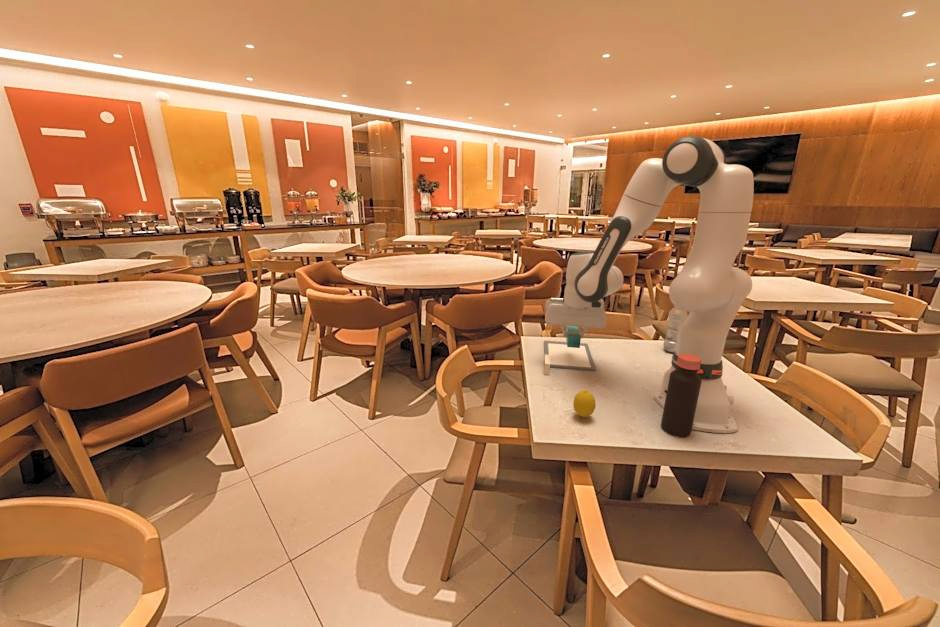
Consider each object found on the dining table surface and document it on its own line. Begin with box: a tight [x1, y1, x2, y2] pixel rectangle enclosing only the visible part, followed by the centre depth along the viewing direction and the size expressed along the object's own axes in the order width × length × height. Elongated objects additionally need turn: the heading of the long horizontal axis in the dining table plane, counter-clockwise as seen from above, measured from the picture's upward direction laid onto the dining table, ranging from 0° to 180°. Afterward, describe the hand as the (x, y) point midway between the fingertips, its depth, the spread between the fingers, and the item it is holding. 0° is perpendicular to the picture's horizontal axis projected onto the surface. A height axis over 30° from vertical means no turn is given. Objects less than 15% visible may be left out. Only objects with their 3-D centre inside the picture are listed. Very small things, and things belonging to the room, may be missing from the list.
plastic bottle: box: [663, 304, 689, 354], centre depth 142 cm, size 6×7×20 cm
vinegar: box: [660, 354, 702, 438], centre depth 92 cm, size 7×7×20 cm
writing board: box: [543, 340, 597, 372], centre depth 140 cm, size 24×17×1 cm
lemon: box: [573, 389, 596, 418], centre depth 99 cm, size 6×6×8 cm
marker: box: [565, 325, 582, 348], centre depth 133 cm, size 13×4×4 cm, turn 169°
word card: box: [543, 354, 551, 376], centre depth 128 cm, size 8×2×4 cm, turn 170°
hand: (572, 337), depth 132 cm, fingers closed on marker, 4 cm apart
